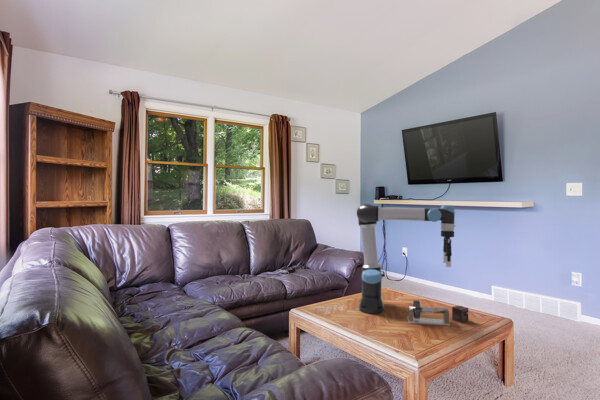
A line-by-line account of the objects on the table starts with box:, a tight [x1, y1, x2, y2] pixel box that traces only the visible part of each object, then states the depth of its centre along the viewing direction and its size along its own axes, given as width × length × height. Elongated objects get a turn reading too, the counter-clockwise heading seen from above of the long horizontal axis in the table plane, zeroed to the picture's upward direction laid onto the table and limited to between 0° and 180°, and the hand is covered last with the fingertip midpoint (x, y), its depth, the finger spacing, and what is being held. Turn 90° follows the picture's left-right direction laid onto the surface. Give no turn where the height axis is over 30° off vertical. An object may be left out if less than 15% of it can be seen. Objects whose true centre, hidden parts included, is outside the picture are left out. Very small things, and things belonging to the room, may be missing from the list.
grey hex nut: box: [412, 299, 422, 319], centre depth 183 cm, size 2×9×9 cm, turn 169°
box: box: [451, 305, 469, 324], centre depth 184 cm, size 6×6×7 cm
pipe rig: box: [406, 305, 451, 327], centre depth 182 cm, size 21×7×8 cm, turn 79°
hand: (447, 264), depth 204 cm, fingers open, 13 cm apart
